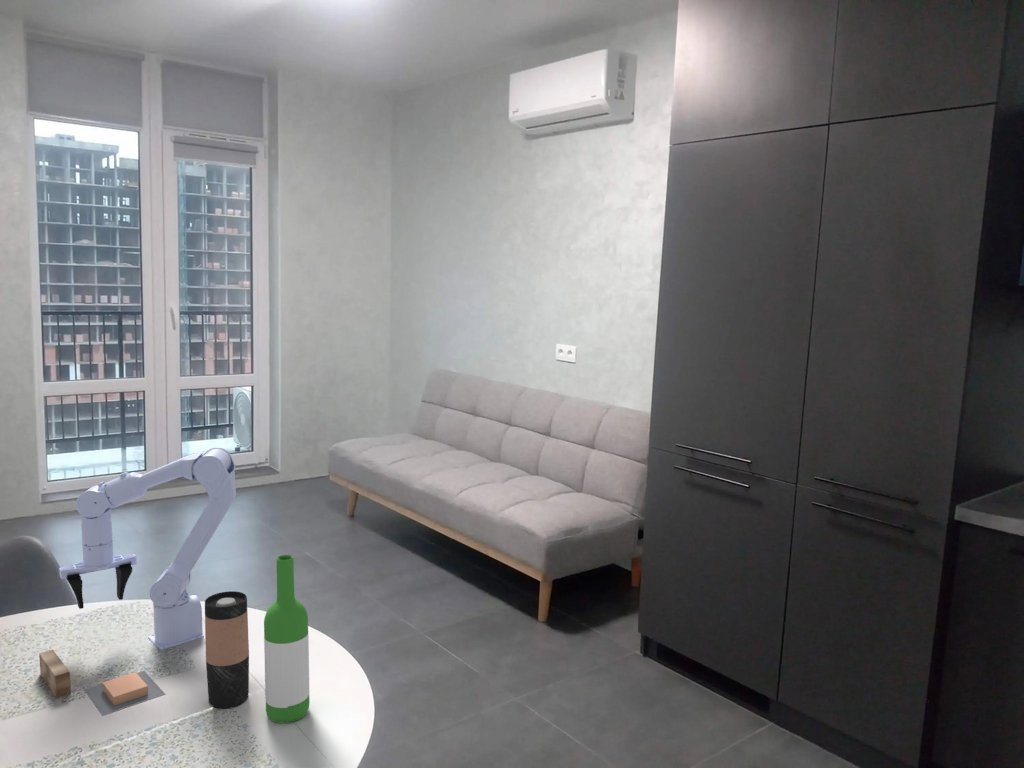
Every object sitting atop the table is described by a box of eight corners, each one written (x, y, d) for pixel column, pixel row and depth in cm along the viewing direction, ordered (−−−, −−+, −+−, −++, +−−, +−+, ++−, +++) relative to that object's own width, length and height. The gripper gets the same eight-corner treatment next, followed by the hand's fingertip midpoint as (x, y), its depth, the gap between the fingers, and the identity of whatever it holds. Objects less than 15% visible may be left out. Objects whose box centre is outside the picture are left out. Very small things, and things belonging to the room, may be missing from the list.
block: (135, 672, 149) (147, 685, 144) (135, 680, 149) (148, 694, 144) (102, 682, 145) (113, 697, 140) (102, 691, 145) (114, 705, 140)
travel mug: (258, 693, 146) (256, 594, 144) (231, 713, 139) (228, 610, 137) (226, 685, 149) (223, 588, 146) (198, 705, 142) (194, 603, 139)
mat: (144, 672, 153) (144, 670, 153) (165, 696, 145) (165, 694, 144) (84, 691, 146) (83, 689, 146) (102, 717, 137) (102, 715, 137)
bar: (40, 677, 151) (39, 653, 150) (54, 673, 153) (52, 649, 152) (56, 701, 143) (55, 675, 142) (71, 696, 144) (69, 671, 144)
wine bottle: (315, 717, 138) (312, 560, 135) (272, 730, 134) (268, 568, 130) (302, 698, 145) (300, 547, 141) (261, 709, 141) (257, 554, 137)
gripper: (62, 554, 155) (66, 617, 156) (139, 540, 164) (141, 600, 165) (56, 545, 160) (59, 606, 162) (130, 532, 169) (133, 590, 171)
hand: (100, 602), depth 164 cm, fingers open, 7 cm apart
